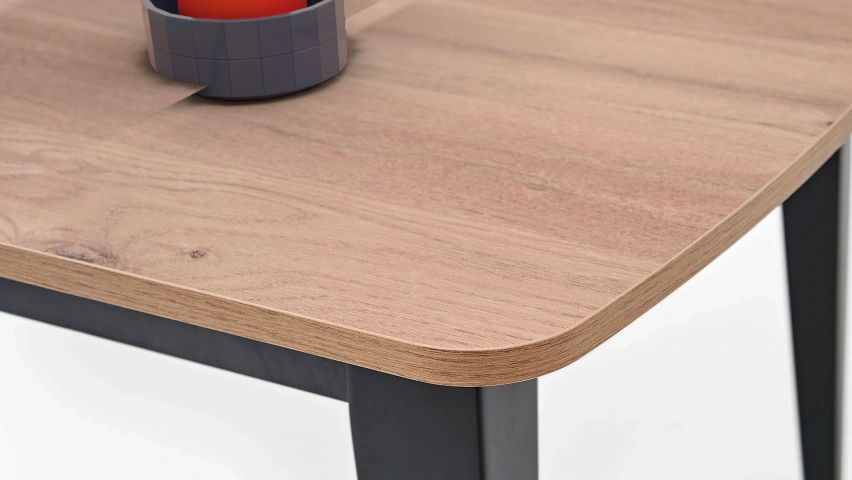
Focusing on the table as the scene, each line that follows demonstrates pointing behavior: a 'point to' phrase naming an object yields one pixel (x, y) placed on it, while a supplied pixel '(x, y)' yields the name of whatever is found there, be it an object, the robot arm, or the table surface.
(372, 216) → the table surface
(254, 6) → the tomato
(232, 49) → the faceted grey ring
